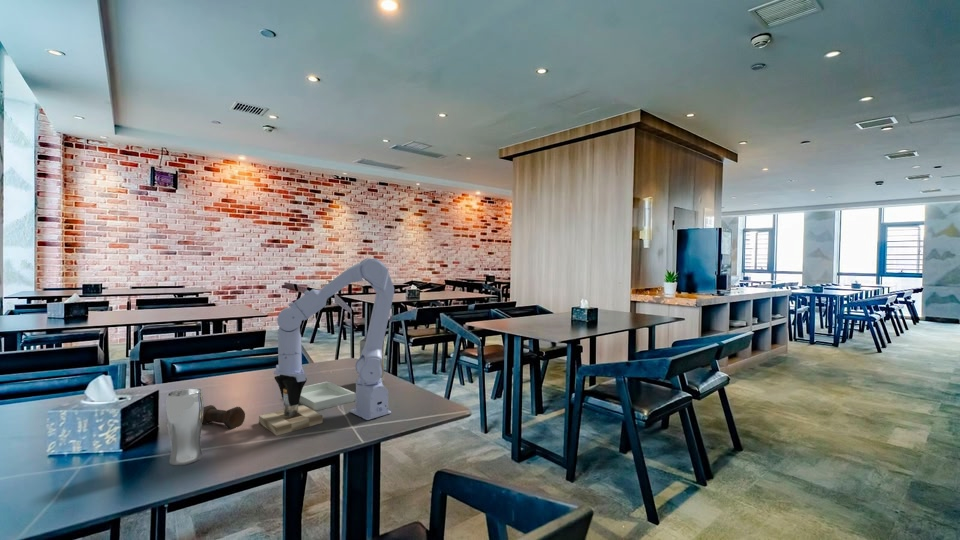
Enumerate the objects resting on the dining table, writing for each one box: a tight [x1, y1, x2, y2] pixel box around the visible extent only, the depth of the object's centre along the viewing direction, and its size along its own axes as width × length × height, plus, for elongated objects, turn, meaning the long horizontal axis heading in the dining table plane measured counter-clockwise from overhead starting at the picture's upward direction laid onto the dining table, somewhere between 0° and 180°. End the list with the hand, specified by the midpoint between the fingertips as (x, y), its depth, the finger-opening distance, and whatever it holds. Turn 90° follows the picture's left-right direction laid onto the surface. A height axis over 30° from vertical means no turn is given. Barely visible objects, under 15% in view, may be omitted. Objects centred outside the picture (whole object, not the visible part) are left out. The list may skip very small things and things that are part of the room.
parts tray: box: [299, 381, 356, 412], centre depth 138 cm, size 18×13×2 cm
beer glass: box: [165, 387, 205, 467], centre depth 97 cm, size 7×7×15 cm
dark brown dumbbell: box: [203, 404, 246, 430], centre depth 118 cm, size 6×5×15 cm
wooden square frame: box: [258, 404, 324, 436], centre depth 118 cm, size 12×12×2 cm
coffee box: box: [359, 336, 385, 383], centre depth 154 cm, size 9×6×16 cm
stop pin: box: [282, 387, 299, 416], centre depth 118 cm, size 4×4×7 cm
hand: (290, 403), depth 118 cm, fingers closed on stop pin, 4 cm apart
